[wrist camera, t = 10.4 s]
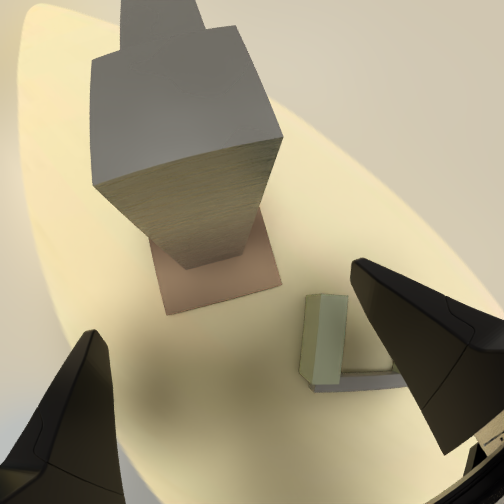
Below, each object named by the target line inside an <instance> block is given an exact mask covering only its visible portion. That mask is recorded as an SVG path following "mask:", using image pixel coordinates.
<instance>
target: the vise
mask: <svg viewBox="0 0 504 504" xmlns="http://www.w3.org/2000/svg"><path fill="white" fill-rule="evenodd" d="M347 306H348V296H344V295H331V294H315V295H307V296H306V308H305V319H304V330H303V340H302V349H301V359H300V367H299V373H300V374H301V375H302V376H303V377H304V378H305V379H306V380H307V381H309V382H310V384H309V388H310V389H311V390H312V391H313V392H350V391H367V390H380V389H391V388H401V387H408V386H407V384H406V383H405V381H404V379H403V377H402V375H401V374H400V372H399V370H398V368H397V367H396V365H395V363H393V370H392V371H381V372H359V373H341V366H342V358H343V349H344V340H345V330H346V319H347Z"/></svg>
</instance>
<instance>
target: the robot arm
mask: <svg viewBox="0 0 504 504" xmlns="http://www.w3.org/2000/svg"><path fill="white" fill-rule="evenodd" d="M350 282H351V285H352V287H353V289H354V291H355V293H356V295H357V297H358V299H359V301H360V303H361V305H362V308H363V310H364V312H365V314H366V316H367V318H368V320H369V321H370V323H371V325H372V326H373V328H374V330H375V331H376V333H377V335H378V336H379V338H380V340H381V341H382V343H383V345H384V346H385V348H386V350H387V351H388V353H389V355H390V356H391V358H392V360H393V362H394V363H395V365H396V367H397V368H398V370H399V372H400V374H401V375H402V377H403V379H404V381H405V383H406V384H407V386H408V388H409V390H410V391H411V393H412V395H413V397H414V399H415V401H416V402H417V404H418V406H419V408H420V410H421V412H422V414H423V416H424V418H425V420H426V421H427V423H428V425H429V427H430V429H431V431H432V433H433V435H434V437H435V439H436V441H437V443H438V445H439V447H440V449H441V451H442V453H443V454H444V456H445V455H446V454H448V453H449V452H451V451H452V450H454V449H455V448H457V447H458V446H459V445H461V444H462V443H464V442H465V441H466V440H468V439H469V438H470V437H472V436H473V435H474V436H475V437H476V439H477V441H478V442H477V443H476V444H475V445H474V446H472V447H471V448H470V451H469V455H468V459H467V463H466V467H465V471H464V474H463V478H461V479H460V480H459V481H457V482H456V483H455V484H453V485H452V486H451V487H449V488H448V489H446V490H445V491H443V492H442V493H441V494H439V495H438V496H436V497H435V498H433V499H432V500H430V501H428V502H427V503H425V504H504V320H502V319H499V318H497V317H494V316H492V315H489V314H487V313H484V312H482V311H479V310H477V309H474V308H472V307H470V306H467V305H465V304H463V303H461V302H458V301H456V300H454V299H452V298H450V297H448V296H445V295H444V294H441V293H439V292H437V291H435V290H433V289H431V288H429V287H427V286H425V285H423V284H420V283H418V282H416V281H414V280H412V279H410V278H408V277H405V276H403V275H401V274H399V273H397V272H394V271H392V270H390V269H388V268H386V267H383V266H381V265H379V264H377V263H375V262H372V261H370V260H368V259H366V258H359V259H356V260H353V261H352V264H351V274H350ZM123 495H124V493H123V486H122V480H121V473H120V466H119V458H118V449H117V440H116V429H115V415H114V396H113V383H112V376H111V368H110V359H109V350H108V346H107V344H106V342H105V341H104V340H103V338H102V337H101V336H100V334H99V333H98V331H97V330H95V329H93V330H88V331H85V332H84V333H83V335H82V336H81V338H80V339H79V341H78V342H77V344H76V345H75V347H74V348H73V350H72V351H71V353H70V354H69V356H68V357H67V359H66V361H65V362H64V364H63V365H62V367H61V368H60V370H59V372H58V373H57V375H56V376H55V378H54V380H53V381H52V383H51V385H50V386H49V388H48V390H47V391H46V393H45V395H44V396H43V398H42V400H41V402H40V403H39V405H38V407H37V408H36V410H35V412H34V414H33V415H32V417H31V419H30V421H29V422H28V424H27V426H26V427H25V429H24V431H23V432H22V434H21V435H20V437H19V439H18V440H17V442H16V443H15V445H14V447H13V448H12V450H11V451H10V453H9V454H8V456H7V458H6V459H5V461H4V462H3V463H2V464H1V465H0V504H126V503H125V497H124V496H123Z"/></svg>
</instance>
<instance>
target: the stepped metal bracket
mask: <svg viewBox="0 0 504 504" xmlns="http://www.w3.org/2000/svg"><path fill="white" fill-rule="evenodd" d="M282 140H283V134H282V132H281V129H280V127H279V124H278V122H277V119H276V117H275V114H274V112H273V109H272V107H271V104H270V102H269V99H268V97H267V95H266V92H265V90H264V88H263V85H262V83H261V81H260V78H259V76H258V74H257V71H256V69H255V67H254V64H253V62H252V60H251V58H250V55H249V53H248V51H247V49H246V47H245V44H244V43H243V41H242V38H241V36H240V34H239V32H238V30H237V27H236V26H226V27H219V28H212V29H205V26H204V23H203V21H202V18H201V15H200V12H199V10H198V7H197V4H196V2H195V0H121V15H120V50H119V51H116V52H113V53H110V54H107V55H104V56H101V57H99V58H96V59H93V60H92V66H91V82H90V152H91V169H92V183H93V187H95V188H96V189H97V190H98V191H99V192H100V193H101V194H102V195H103V196H104V197H105V198H106V199H107V200H108V201H109V202H110V203H111V204H112V205H114V206H115V207H116V208H117V209H118V210H119V211H120V212H121V213H122V214H123V215H124V216H125V217H126V218H128V219H129V220H130V221H131V222H132V223H133V224H134V225H135V226H136V227H137V228H139V229H140V230H141V231H142V232H143V233H144V234H145V235H146V236H147V237H149V238H150V239H151V240H152V241H153V242H154V243H155V244H157V245H158V246H159V247H160V248H161V249H162V250H163V251H164V252H166V253H167V254H168V255H169V256H170V257H171V258H173V259H174V260H175V261H176V262H177V263H178V264H180V265H181V266H182V267H183V268H184V269H185V270H188V269H192V268H196V267H199V266H203V265H207V264H211V263H214V262H218V261H222V260H226V259H229V258H233V257H237V256H241V255H242V254H243V251H244V248H245V245H246V242H247V239H248V236H249V234H250V231H251V228H252V225H253V222H254V219H255V216H256V213H257V211H258V208H259V205H260V202H261V199H262V196H263V193H264V191H265V188H266V185H267V182H268V179H269V176H270V174H271V171H272V168H273V165H274V162H275V159H276V157H277V154H278V151H279V148H280V145H281V142H282Z"/></svg>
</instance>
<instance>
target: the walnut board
mask: <svg viewBox="0 0 504 504" xmlns="http://www.w3.org/2000/svg"><path fill="white" fill-rule="evenodd" d="M148 238H149V237H148ZM149 243H150V247H151V252H152V257H153V261H154V266H155V270H156V275H157V279H158V283H159V287H160V291H161V295H162V299H163V303H164V307H165V311H166V315H171V314H175V313H179V312H183V311H187V310H191V309H195V308H199V307H203V306H206V305H210V304H214V303H218V302H222V301H225V300H229V299H233V298H237V297H240V296H244V295H248V294H251V293H255V292H258V291H262V290H266V289H269V288H273V287H276V286H280V285H282V283H281V279H280V276H279V272H278V269H277V265H276V262H275V258H274V255H273V252H272V248H271V245H270V241H269V238H268V234H267V231H266V228H265V224H264V221H263V217H262V214H261V211H260V207H259V208H258V211H257V213H256V216H255V219H254V222H253V225H252V228H251V231H250V234H249V236H248V239H247V242H246V245H245V248H244V251H243V254H242V255H241V256H237V257H233V258H229V259H226V260H222V261H218V262H214V263H211V264H207V265H203V266H199V267H196V268H192V269H188V270H185V269H184V268H183V267H182V266H181V265H180V264H178V263H177V262H176V261H175V260H174V259H173V258H171V257H170V256H169V255H168V254H167V253H166V252H164V251H163V250H162V249H161V248H160V247H159V246H158V245H157V244H155V243H154V242H153V241H152V240H151V239H150V238H149Z"/></svg>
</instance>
